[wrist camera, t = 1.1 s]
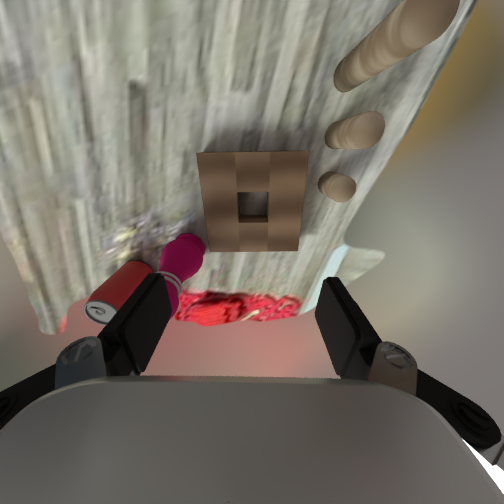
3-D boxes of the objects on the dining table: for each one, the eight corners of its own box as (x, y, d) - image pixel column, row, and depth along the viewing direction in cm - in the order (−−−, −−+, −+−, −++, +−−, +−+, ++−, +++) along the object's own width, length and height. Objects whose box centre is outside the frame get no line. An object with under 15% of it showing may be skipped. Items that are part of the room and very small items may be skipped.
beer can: (128, 254, 39) (83, 292, 29) (159, 268, 41) (127, 309, 31) (120, 275, 42) (76, 318, 31) (149, 288, 44) (117, 332, 33)
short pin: (319, 172, 32) (333, 176, 26) (341, 171, 32) (358, 176, 26) (316, 194, 33) (328, 202, 28) (337, 193, 33) (352, 202, 28)
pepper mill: (212, 239, 38) (177, 318, 20) (201, 267, 41) (162, 356, 23) (176, 224, 36) (105, 296, 19) (167, 254, 39) (99, 339, 22)
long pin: (336, 57, 25) (417, -31, 13) (363, 57, 25) (471, -32, 13) (331, 92, 27) (398, 44, 14) (357, 92, 27) (446, 43, 14)
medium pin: (327, 121, 28) (355, 111, 20) (351, 121, 28) (389, 110, 20) (323, 149, 30) (348, 149, 22) (345, 148, 30) (379, 148, 22)
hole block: (202, 152, 30) (196, 152, 27) (302, 150, 30) (309, 151, 27) (213, 242, 38) (209, 252, 34) (293, 241, 38) (297, 251, 34)
